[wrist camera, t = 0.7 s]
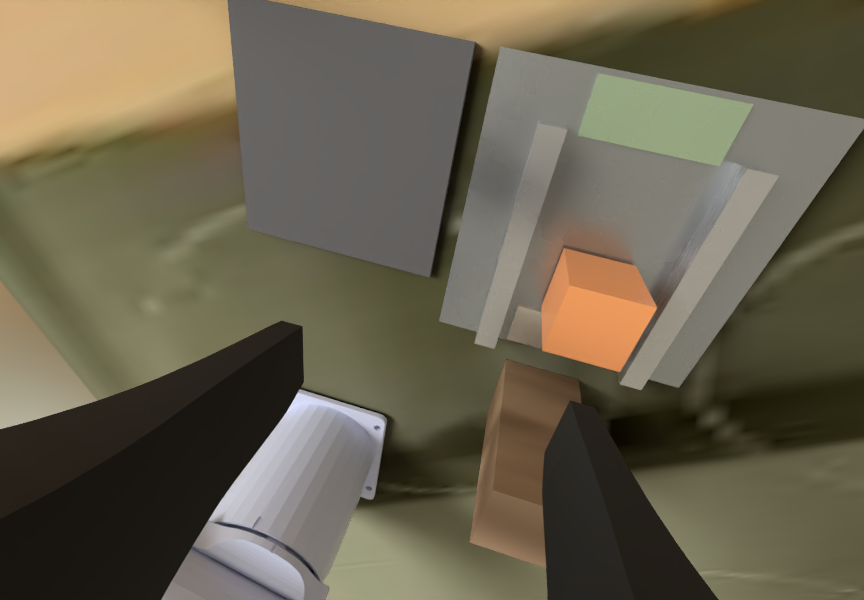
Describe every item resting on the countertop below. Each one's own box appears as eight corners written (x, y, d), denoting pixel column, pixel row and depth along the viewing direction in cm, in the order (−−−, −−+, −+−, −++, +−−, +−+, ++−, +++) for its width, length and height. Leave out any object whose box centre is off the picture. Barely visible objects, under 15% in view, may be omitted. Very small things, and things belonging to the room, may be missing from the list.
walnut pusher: (553, 428, 23) (561, 572, 17) (488, 408, 24) (469, 542, 17) (578, 379, 21) (598, 524, 14) (506, 359, 22) (492, 490, 15)
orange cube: (606, 323, 18) (619, 372, 15) (541, 306, 18) (542, 350, 15) (635, 265, 16) (657, 308, 13) (563, 248, 16) (569, 285, 14)
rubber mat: (431, 274, 20) (429, 277, 20) (252, 226, 21) (248, 229, 21) (476, 42, 15) (475, 42, 14) (233, -6, 16) (226, -8, 15)
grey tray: (672, 374, 20) (685, 402, 18) (443, 311, 21) (434, 332, 19) (848, 117, 13) (893, 123, 12) (502, 48, 14) (498, 45, 13)
